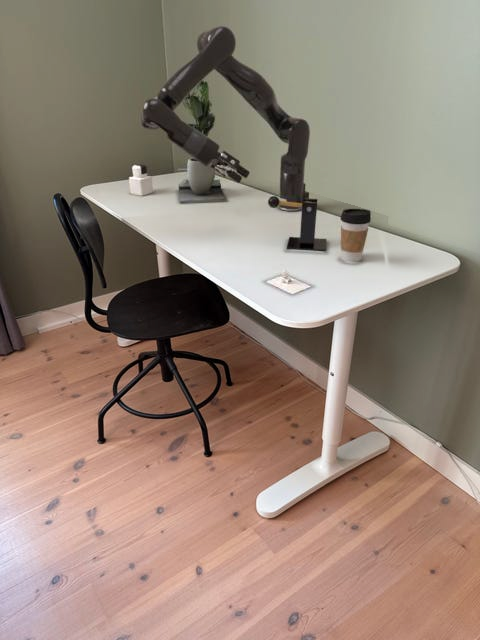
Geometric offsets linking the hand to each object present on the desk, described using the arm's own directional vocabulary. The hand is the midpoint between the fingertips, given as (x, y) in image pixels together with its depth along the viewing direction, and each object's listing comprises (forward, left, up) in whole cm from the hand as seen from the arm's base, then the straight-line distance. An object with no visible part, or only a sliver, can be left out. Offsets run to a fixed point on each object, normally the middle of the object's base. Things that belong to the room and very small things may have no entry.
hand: (244, 178), depth 149 cm
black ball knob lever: (-7, +15, -8) cm, 18 cm away
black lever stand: (-11, +19, -20) cm, 29 cm away
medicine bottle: (+3, -73, -20) cm, 76 cm away
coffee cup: (-14, +35, -20) cm, 42 cm away
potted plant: (-16, -54, -20) cm, 60 cm away
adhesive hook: (+12, +37, -20) cm, 43 cm away
